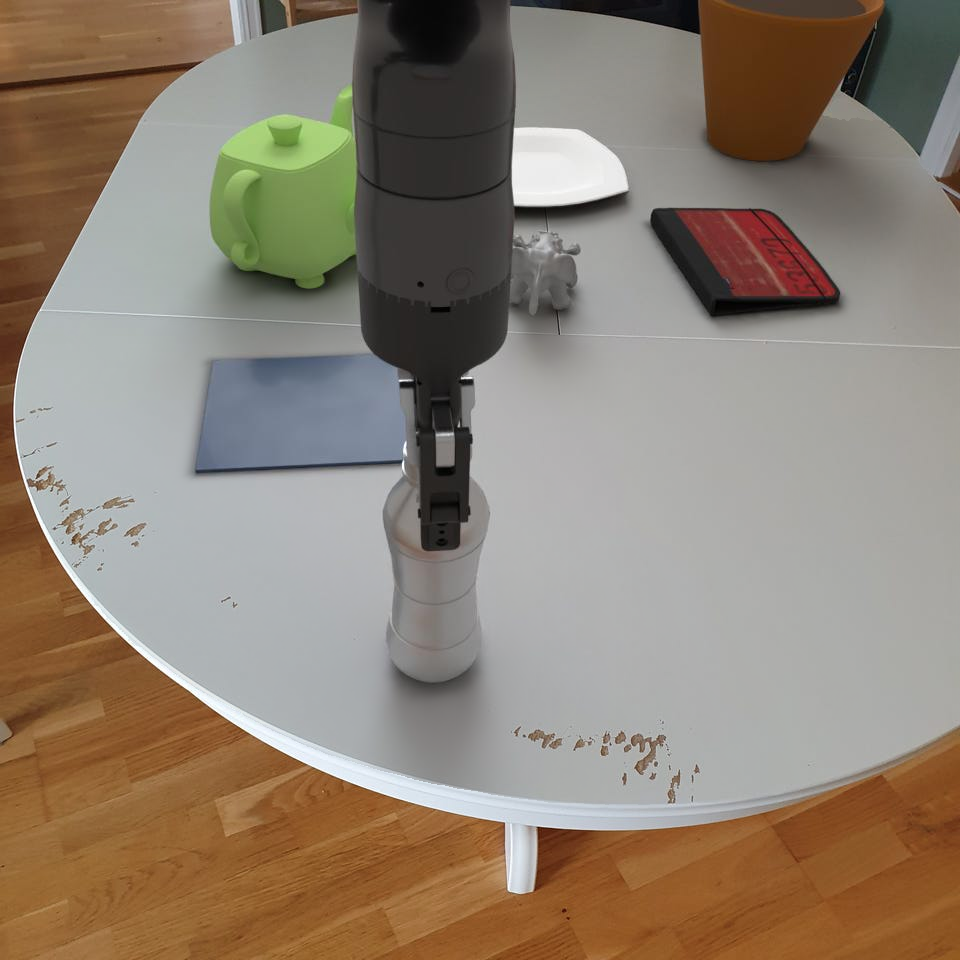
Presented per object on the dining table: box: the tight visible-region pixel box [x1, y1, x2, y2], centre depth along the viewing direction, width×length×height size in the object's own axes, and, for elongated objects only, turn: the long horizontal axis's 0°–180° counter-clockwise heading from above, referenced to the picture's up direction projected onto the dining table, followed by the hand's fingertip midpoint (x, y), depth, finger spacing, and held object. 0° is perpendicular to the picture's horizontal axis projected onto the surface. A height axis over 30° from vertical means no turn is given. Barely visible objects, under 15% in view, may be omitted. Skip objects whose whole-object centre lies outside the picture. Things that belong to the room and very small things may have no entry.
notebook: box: [649, 207, 841, 317], centre depth 109 cm, size 16×2×21 cm
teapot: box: [209, 83, 357, 289], centre depth 102 cm, size 25×22×16 cm
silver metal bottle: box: [382, 432, 491, 684], centre depth 61 cm, size 6×7×20 cm
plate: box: [512, 126, 630, 209], centre depth 124 cm, size 23×23×2 cm
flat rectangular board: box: [194, 353, 406, 473], centre depth 87 cm, size 20×16×1 cm
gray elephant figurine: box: [509, 229, 582, 315], centre depth 99 cm, size 9×12×8 cm
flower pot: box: [697, 0, 885, 162], centre depth 129 cm, size 24×24×20 cm
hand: (434, 495), depth 56 cm, fingers open, 8 cm apart
